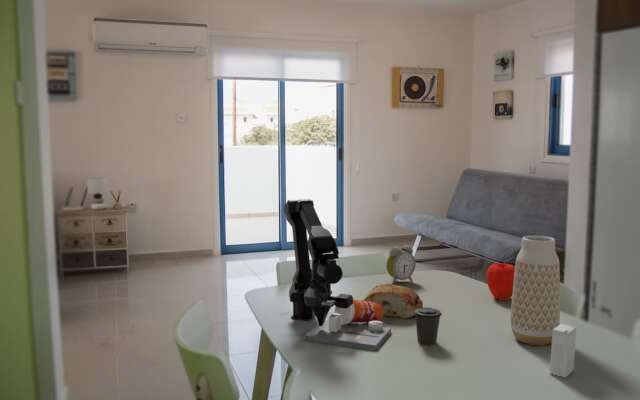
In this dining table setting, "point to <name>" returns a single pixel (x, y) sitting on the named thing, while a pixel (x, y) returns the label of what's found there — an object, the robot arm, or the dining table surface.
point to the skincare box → (563, 350)
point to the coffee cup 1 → (360, 312)
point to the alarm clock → (401, 263)
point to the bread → (395, 300)
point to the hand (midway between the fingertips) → (321, 325)
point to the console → (351, 335)
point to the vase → (536, 291)
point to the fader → (334, 322)
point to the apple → (501, 280)
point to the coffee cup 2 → (427, 325)
